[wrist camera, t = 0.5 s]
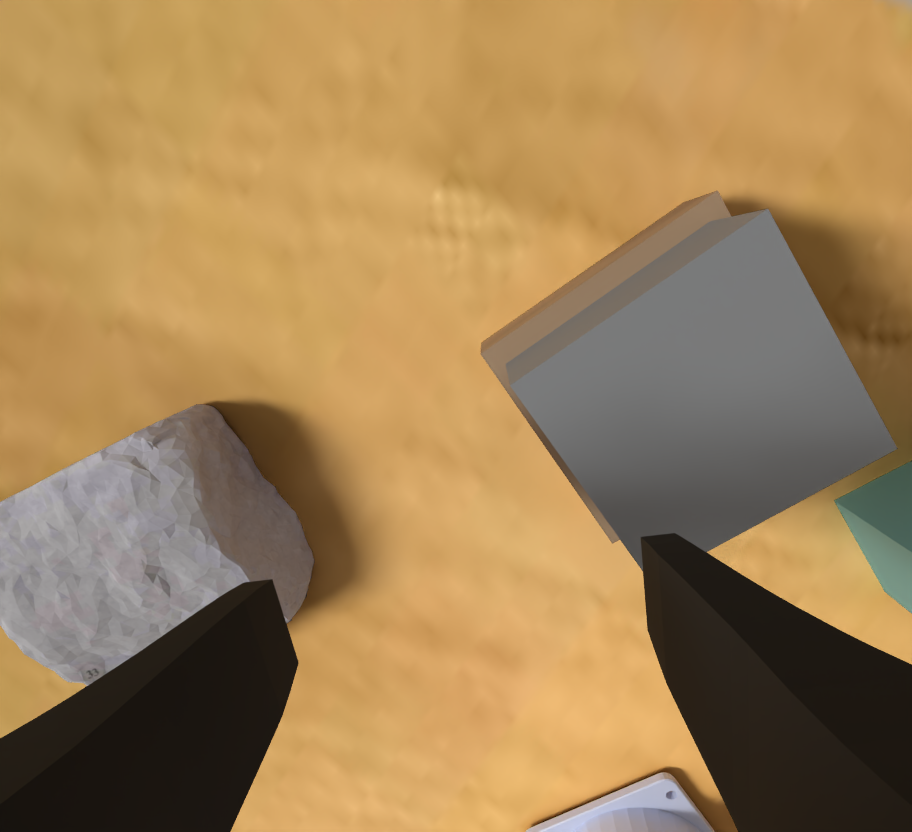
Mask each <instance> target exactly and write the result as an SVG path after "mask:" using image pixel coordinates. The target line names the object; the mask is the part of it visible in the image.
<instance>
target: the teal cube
mask: <svg viewBox="0 0 912 832" xmlns="http://www.w3.org/2000/svg"><path fill="white" fill-rule="evenodd" d="M834 501H835V503H836V505H837V507H838V509H839V510H840V512H841V514H842V516H843V518H844V519H845V521H846V523H847V525H848V527H849V528H850V530H851V532H852V534H853V535H854V537H855V539H856V541H857V543H858V544H859V546H860V548H861V550H862V552H863V553H864V555H865V557H866V559H867V561H868V562H869V564H870V566H871V568H872V570H873V571H874V573H875V575H876V577H877V579H878V580H879V582H880V584H881V586H882V587H883V589H884V591H885V592H886V593H887V594H888V595H890V596H891V597H892V598H893V599H894V600H896V601H897V602H898V603H899V604H901V605H902V606H903V607H904V608H906V609H907V610H908V611H909V612H910V613H912V461H910V462H908V463H906V464H904V465H902V466H901V467H899V468H897V469H895V470H893V471H891V472H889V473H887V474H885V475H883V476H881V477H879V478H877V479H875V480H873V481H871V482H869V483H867V484H865V485H863V486H862V487H860V488H858V489H856V490H854V491H852V492H850V493H848V494H846V495H844V496H842V497H840V498H838V499H836V500H834Z"/></svg>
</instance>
